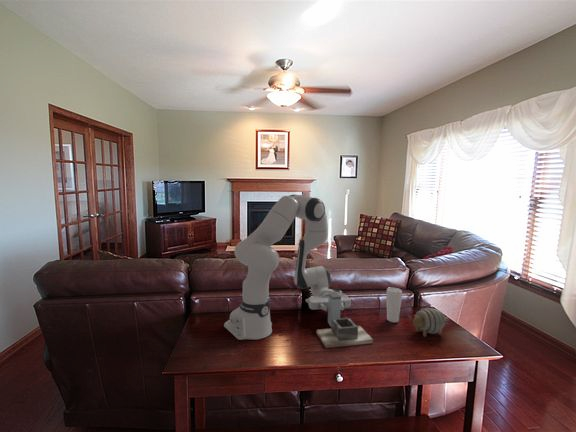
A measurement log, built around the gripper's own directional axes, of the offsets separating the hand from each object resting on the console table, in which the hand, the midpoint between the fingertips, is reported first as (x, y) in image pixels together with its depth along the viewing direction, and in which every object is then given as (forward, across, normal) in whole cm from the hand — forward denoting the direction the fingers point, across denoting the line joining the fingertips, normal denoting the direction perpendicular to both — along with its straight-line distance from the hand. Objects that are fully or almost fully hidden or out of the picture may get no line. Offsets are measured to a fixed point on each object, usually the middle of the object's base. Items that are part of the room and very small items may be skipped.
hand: (334, 309), depth 133 cm
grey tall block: (-1, 0, +8) cm, 8 cm away
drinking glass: (0, +29, +8) cm, 30 cm away
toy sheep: (+14, +38, +8) cm, 42 cm away
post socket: (+11, 0, +8) cm, 14 cm away
